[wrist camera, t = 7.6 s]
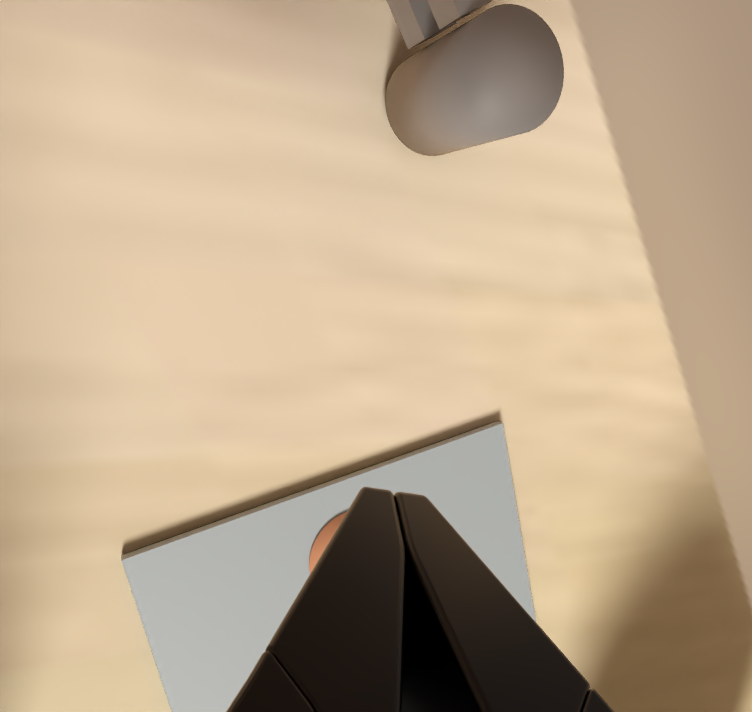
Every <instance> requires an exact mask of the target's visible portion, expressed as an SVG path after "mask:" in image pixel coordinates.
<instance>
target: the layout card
mask: <svg viewBox="0 0 752 712" xmlns="http://www.w3.org/2000/svg"><path fill="white" fill-rule="evenodd" d="M363 487H371V488H378V489H385V490H389V491H391V492H392V493H393V495H394V494H395V493H396V492H405V493H412V494H419V495H424V496H426V497H427V498H428V499H429V500H430V501H431V502H432V504H433V505H434V506H435V507H436V508H437V509H438V510H439V512H440V513H441V514H442V515H443V516H444V517H445V518H446V520H447V521H448V522H449V523H450V524H451V525H452V527H453V528H454V529H455V530H456V531H457V532H458V533H459V535H460V536H461V537H462V538H463V539H464V540H465V541H466V543H467V544H468V545H469V546H470V547H471V548H472V550H473V551H474V552H475V553H476V554H477V555H478V556H479V558H480V559H481V560H482V561H483V562H484V563H485V564H486V566H487V567H488V568H489V569H490V570H491V571H492V573H493V574H494V575H495V576H496V577H497V578H498V579H499V581H500V582H501V583H502V584H503V585H504V586H505V587H506V589H507V590H508V591H509V592H510V593H511V594H512V595H513V597H514V598H515V599H516V600H517V601H518V602H519V604H520V605H521V606H522V607H523V608H524V609H525V610H526V612H527V613H528V614H529V615H530V616H531V617H532V618H533V620H534V621H535V622H536V619H535V613H534V607H533V601H532V595H531V589H530V583H529V577H528V571H527V565H526V559H525V553H524V547H523V541H522V535H521V529H520V523H519V517H518V511H517V505H516V499H515V493H514V487H513V481H512V475H511V469H510V463H509V457H508V451H507V445H506V439H505V433H504V427H503V423H501V422H499V421H497V422H494V423H491V424H488V425H485V426H483V427H480V428H477V429H474V430H471V431H469V432H466V433H463V434H460V435H457V436H455V437H452V438H449V439H446V440H443V441H441V442H438V443H435V444H432V445H429V446H427V447H424V448H421V449H418V450H415V451H413V452H410V453H407V454H404V455H401V456H399V457H396V458H393V459H390V460H387V461H385V462H382V463H379V464H376V465H373V466H371V467H368V468H365V469H362V470H359V471H357V472H354V473H351V474H348V475H345V476H342V477H340V478H337V479H334V480H331V481H328V482H326V483H323V484H320V485H317V486H314V487H312V488H309V489H306V490H303V491H300V492H298V493H295V494H292V495H289V496H286V497H284V498H281V499H278V500H275V501H272V502H270V503H267V504H264V505H261V506H258V507H256V508H253V509H250V510H247V511H244V512H242V513H239V514H236V515H233V516H230V517H228V518H225V519H222V520H219V521H216V522H214V523H211V524H208V525H205V526H202V527H200V528H197V529H194V530H191V531H188V532H186V533H183V534H180V535H177V536H174V537H172V538H169V539H166V540H163V541H160V542H158V543H155V544H152V545H149V546H146V547H144V548H141V549H138V550H135V551H132V552H130V553H127V554H124V555H121V559H122V563H123V566H124V569H125V572H126V575H127V578H128V581H129V584H130V587H131V590H132V593H133V596H134V599H135V602H136V605H137V608H138V611H139V614H140V617H141V620H142V623H143V627H144V630H145V633H146V636H147V639H148V642H149V645H150V648H151V651H152V654H153V657H154V660H155V663H156V666H157V669H158V672H159V675H160V678H161V681H162V684H163V687H164V690H165V693H166V696H167V699H168V702H169V705H170V708H171V711H172V712H226V711H227V709H228V708H229V706H230V705H231V703H232V702H233V700H234V699H235V697H236V696H237V694H238V692H239V691H240V689H241V688H242V686H243V685H244V683H245V682H246V680H247V679H248V677H249V675H250V674H251V672H252V670H253V669H254V667H255V665H256V664H257V662H258V660H259V659H260V657H261V655H262V654H263V653H264V652H265V650H266V648H267V646H268V644H269V643H270V641H271V639H272V637H273V636H274V634H275V632H276V631H277V629H278V627H279V626H280V624H281V622H282V621H283V619H284V617H285V616H286V614H287V612H288V610H289V609H290V607H291V605H292V604H293V602H294V600H295V599H296V597H297V595H298V594H299V592H300V590H301V589H302V587H303V585H304V583H305V582H306V580H307V578H308V577H309V575H310V573H311V572H312V570H313V568H314V567H315V565H316V563H317V562H318V560H319V558H320V556H321V555H322V553H323V551H324V550H325V548H326V546H327V545H328V543H329V541H330V540H331V538H332V536H333V535H334V533H335V531H336V529H337V528H338V526H339V524H340V523H341V521H342V519H343V518H344V516H345V514H346V513H347V511H348V509H349V508H350V506H351V504H352V502H353V501H354V499H355V497H356V496H357V494H358V492H359V491H360V489H361V488H363Z"/></svg>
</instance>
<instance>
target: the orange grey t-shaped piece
mask: <svg viewBox="0 0 752 712" xmlns="http://www.w3.org/2000/svg"><path fill="white" fill-rule="evenodd" d="M491 1H492V0H387V2H388V4H389V7H390V9H391V11H392V14H393V16H394V18H395V21H396V23H397V25H398V28H399V30H400V32H401V34H402V37H403V39H404V41H405V44H406V46H407V48H408V49H410V48H412V47H414V46H416V45H418V44H420V43H422V42H424V41H426V40H428V39H430V38H432V37H434V36H436V35H438V34H439V33H441V32H443V31H444V30H446V29H447V28H449V27H451V26H452V25H454V24H455V23H456V21H457V20H459V19H461V18H463V17H465V16H467V15H469V14H471V13H473V12H475V11H476V10H478V9H479V8H481V7H483V6H484V5H486V4H487V3H489V2H491ZM563 78H564V67H563V59H562V54H561V50H560V47H559V44H558V42H557V39H556V37H555V35H554V34H553V32H552V30H551V29H550V27H549V26H548V25H547V23H546V22H545V21H544V20H543V19H542V18H541V17H540V16H538V15H537V14H536V13H534V12H533V11H531V10H530V9H527V8H525V7H523V6H519V5H513V4H503V5H498V6H495V7H492V8H490V9H488V10H486V11H485V12H483V13H481V14H480V15H478V16H477V17H475V18H473V19H472V20H470V21H468V22H467V23H465V24H463V25H462V26H460V27H458V28H457V29H455V30H454V31H452V32H450V33H449V34H447V35H445V36H444V37H442V38H440V39H439V40H437V41H435V42H434V43H432V44H430V45H429V46H427V47H426V48H424V49H422V50H421V51H419V52H417V53H416V54H414V55H412V56H411V57H409V58H407V59H406V60H404V61H403V62H402V63H401V64H400V65H399V66H398V67H397V68H396V70H395V71H394V73H393V74H392V76H391V78H390V80H389V83H388V86H387V91H386V112H387V116H388V120H389V123H390V125H391V127H392V129H393V131H394V133H395V134H396V136H397V137H398V139H399V140H400V141H401V142H402V143H403V144H404V145H405V146H406V147H408V148H409V149H411V150H412V151H414V152H416V153H419V154H422V155H427V156H437V155H442V154H446V153H450V152H454V151H458V150H461V149H465V148H469V147H473V146H477V145H480V144H484V143H488V142H492V141H496V140H499V139H503V138H507V137H511V136H515V135H519V134H522V133H526V132H529V131H531V130H533V129H535V128H537V127H538V126H540V125H541V124H542V123H543V122H544V121H546V120H547V118H548V117H549V116H550V115H551V113H552V112H553V110H554V109H555V107H556V105H557V103H558V100H559V97H560V95H561V91H562V86H563Z"/></svg>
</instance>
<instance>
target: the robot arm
mask: <svg viewBox="0 0 752 712" xmlns="http://www.w3.org/2000/svg"><path fill="white" fill-rule="evenodd" d="M589 688H590V685H589V683H588V682H587V681H586V679H585V678H584V677H583V676H582V675H581V674H580V673H579V671H578V670H577V669H576V668H575V667H574V666H573V664H572V663H571V662H570V661H569V660H568V659H567V658H566V656H565V655H564V654H563V653H562V652H561V651H560V650H559V648H558V647H557V646H556V645H555V644H554V643H553V641H552V640H551V639H550V638H549V637H548V636H547V635H546V633H545V632H544V631H543V630H542V629H541V628H540V627H539V625H538V624H537V623H536V622H535V621H534V620H533V618H532V617H531V616H530V615H529V614H528V613H527V612H526V610H525V609H524V608H523V607H522V606H521V605H520V604H519V602H518V601H517V600H516V599H515V598H514V597H513V595H512V594H511V593H510V592H509V591H508V590H507V589H506V587H505V586H504V585H503V584H502V583H501V582H500V581H499V579H498V578H497V577H496V576H495V575H494V574H493V573H492V571H491V570H490V569H489V568H488V567H487V566H486V564H485V563H484V562H483V561H482V560H481V559H480V558H479V556H478V555H477V554H476V553H475V552H474V551H473V550H472V548H471V547H470V546H469V545H468V544H467V543H466V541H465V540H464V539H463V538H462V537H461V536H460V535H459V533H458V532H457V531H456V530H455V529H454V528H453V527H452V525H451V524H450V523H449V522H448V521H447V520H446V518H445V517H444V516H443V515H442V514H441V513H440V512H439V510H438V509H437V508H436V507H435V506H434V505H433V504H432V502H431V501H430V500H429V499H428V498H427V497H426V496H424V495H419V494H412V493H405V492H396V493H395V494H394V495H393V493H392V492H391V491H389V490H385V489H378V488H371V487H363V488H361V489H360V491H359V492H358V494H357V496H356V497H355V499H354V501H353V502H352V504H351V506H350V508H349V509H348V511H347V513H346V514H345V516H344V518H343V519H342V521H341V523H340V524H339V526H338V528H337V529H336V531H335V533H334V535H333V536H332V538H331V540H330V541H329V543H328V545H327V546H326V548H325V550H324V551H323V553H322V555H321V556H320V558H319V560H318V562H317V563H316V565H315V567H314V568H313V570H312V572H311V573H310V575H309V577H308V578H307V580H306V582H305V583H304V585H303V587H302V589H301V590H300V592H299V594H298V595H297V597H296V599H295V600H294V602H293V604H292V605H291V607H290V609H289V610H288V612H287V614H286V616H285V617H284V619H283V621H282V622H281V624H280V626H279V627H278V629H277V631H276V632H275V634H274V636H273V637H272V639H271V641H270V643H269V644H268V646H267V648H266V650H265V652H264V653H263V654H262V655H261V657H260V659H259V660H258V662H257V664H256V665H255V667H254V669H253V670H252V672H251V674H250V675H249V677H248V679H247V680H246V682H245V683H244V685H243V686H242V688H241V689H240V691H239V692H238V694H237V696H236V697H235V699H234V700H233V702H232V703H231V705H230V706H229V708H228V709H227V711H226V712H614V711H613V710H612V709H611V708H610V707H609V705H608V704H607V703H606V702H605V701H604V700H603V699H602V697H601V696H600V695H599V694H598V693H597V692H596V691H595V690H593V689H591V690H589Z"/></svg>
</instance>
